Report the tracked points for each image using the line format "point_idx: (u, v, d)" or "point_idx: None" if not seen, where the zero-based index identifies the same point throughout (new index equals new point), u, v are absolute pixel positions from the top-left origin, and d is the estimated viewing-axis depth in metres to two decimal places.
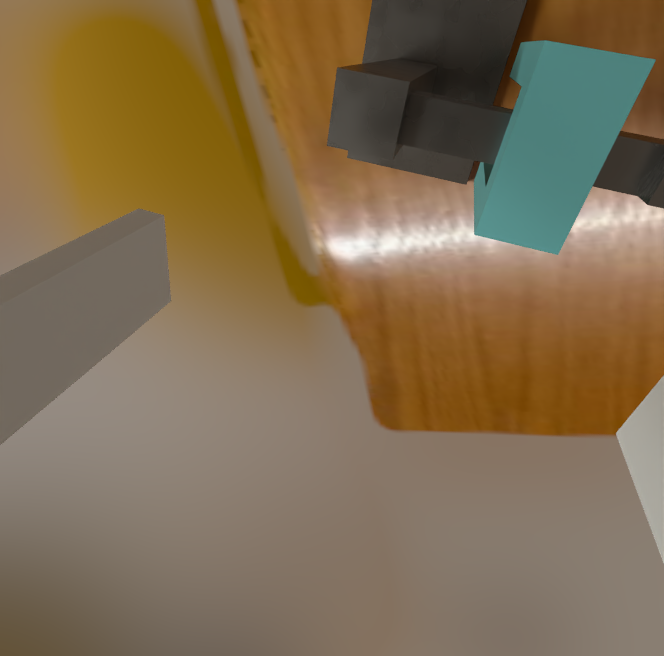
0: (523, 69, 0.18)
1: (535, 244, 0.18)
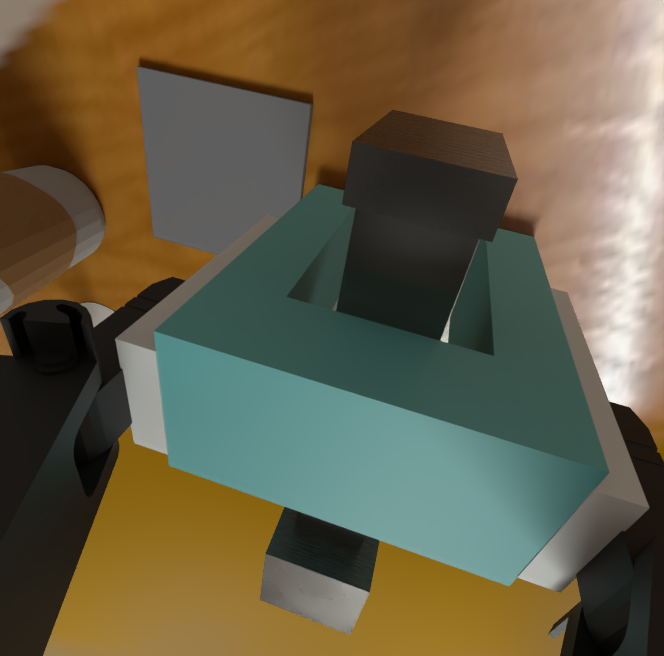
0: None
1: (560, 509, 0.06)
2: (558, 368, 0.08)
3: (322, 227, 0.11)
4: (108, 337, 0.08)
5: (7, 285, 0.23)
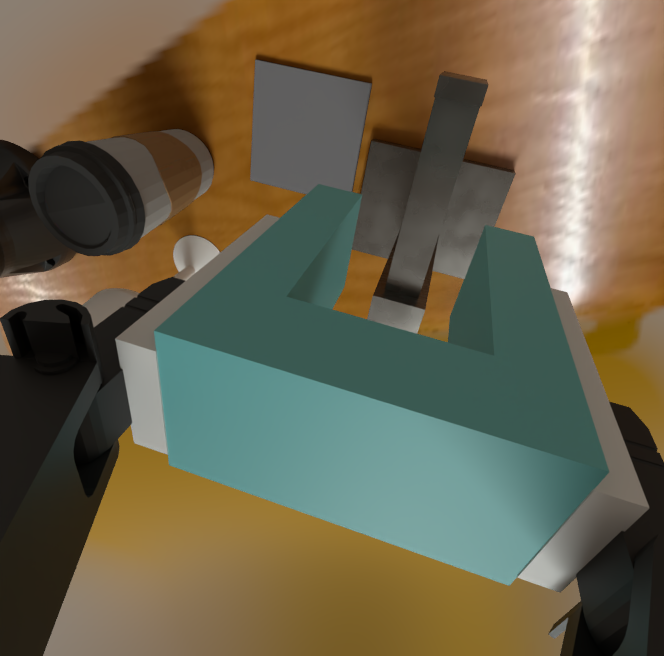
0: None
1: (560, 508, 0.06)
2: (558, 368, 0.08)
3: (322, 227, 0.11)
4: (108, 336, 0.08)
5: (171, 202, 0.35)
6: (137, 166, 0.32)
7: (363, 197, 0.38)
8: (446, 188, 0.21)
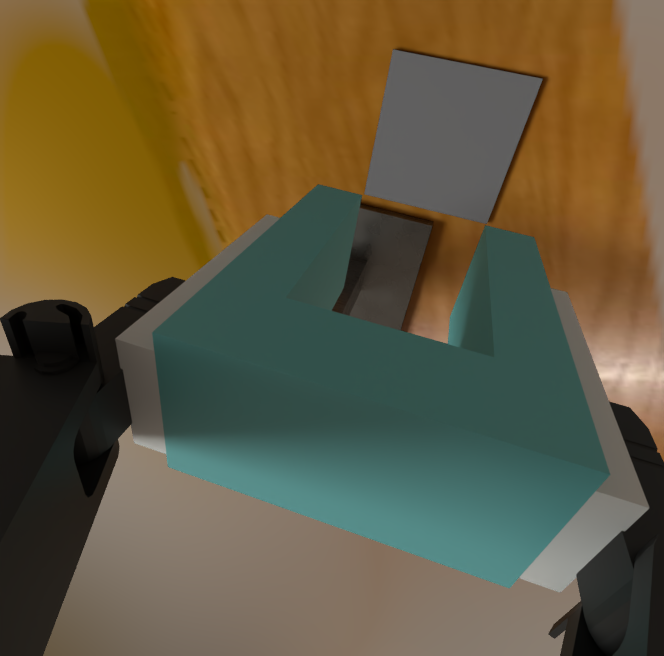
0: None
1: (560, 511, 0.06)
2: (558, 369, 0.08)
3: (322, 228, 0.11)
4: (108, 337, 0.08)
5: None
6: None
7: (373, 215, 0.35)
8: None
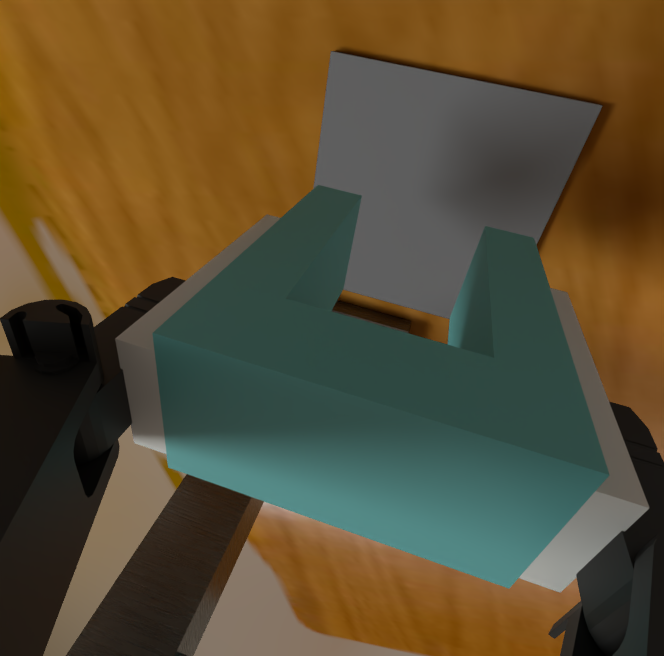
0: None
1: (560, 511, 0.06)
2: (558, 370, 0.08)
3: (322, 229, 0.11)
4: (109, 337, 0.08)
5: None
6: None
7: None
8: None
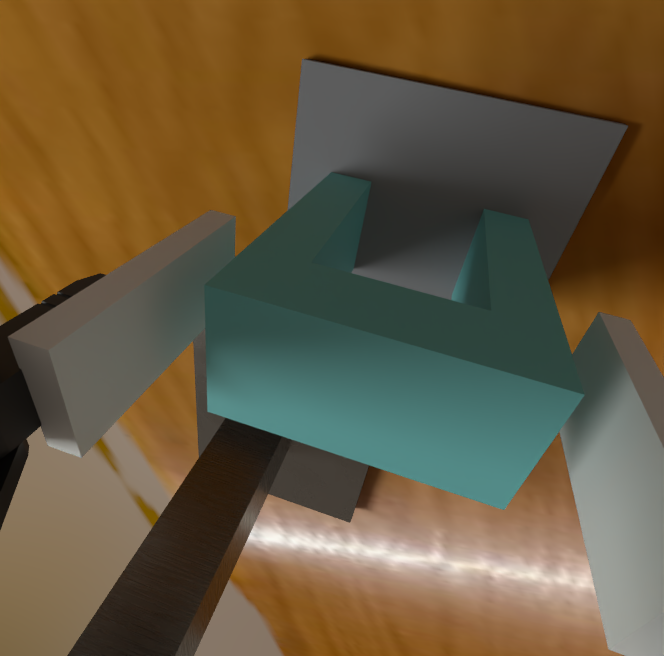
0: None
1: (545, 431, 0.08)
2: (546, 321, 0.09)
3: (337, 208, 0.12)
4: None
5: None
6: None
7: None
8: None
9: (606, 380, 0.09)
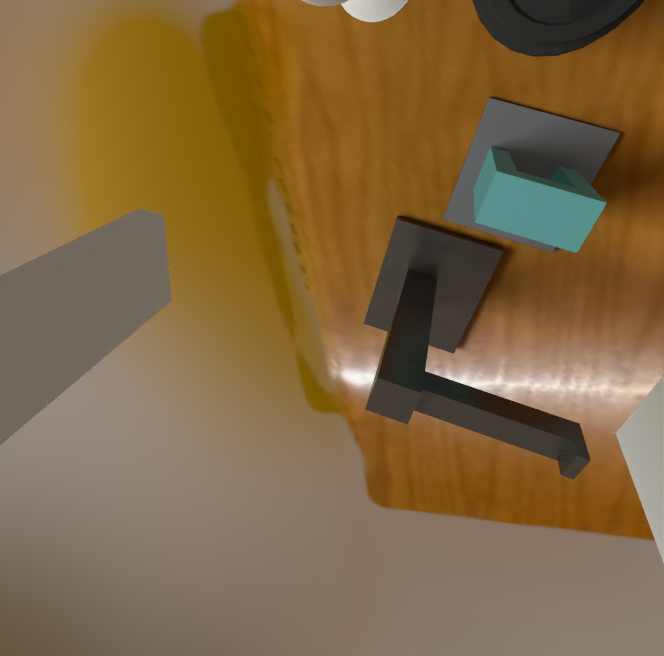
0: None
1: (594, 217, 0.27)
2: (593, 191, 0.28)
3: (507, 158, 0.32)
4: None
5: None
6: None
7: (450, 238, 0.39)
8: (503, 437, 0.29)
9: None
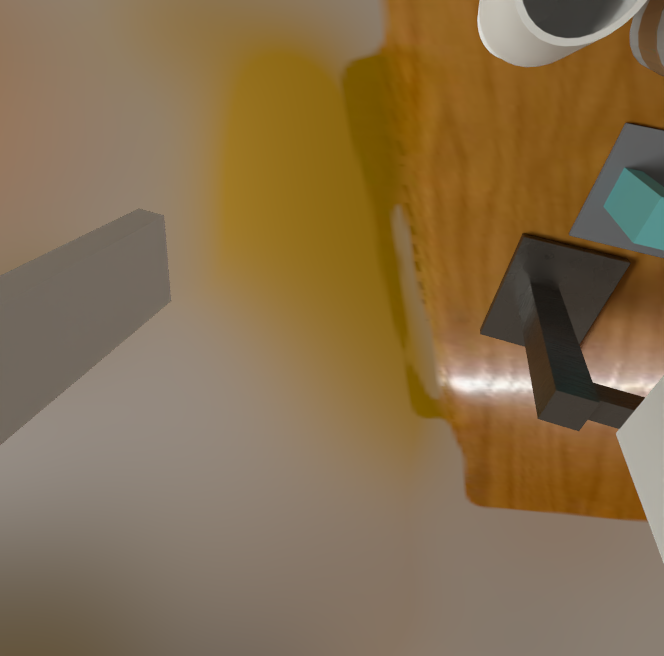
0: None
1: None
2: None
3: (651, 180, 0.34)
4: None
5: None
6: None
7: (577, 253, 0.41)
8: None
9: None
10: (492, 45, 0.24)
